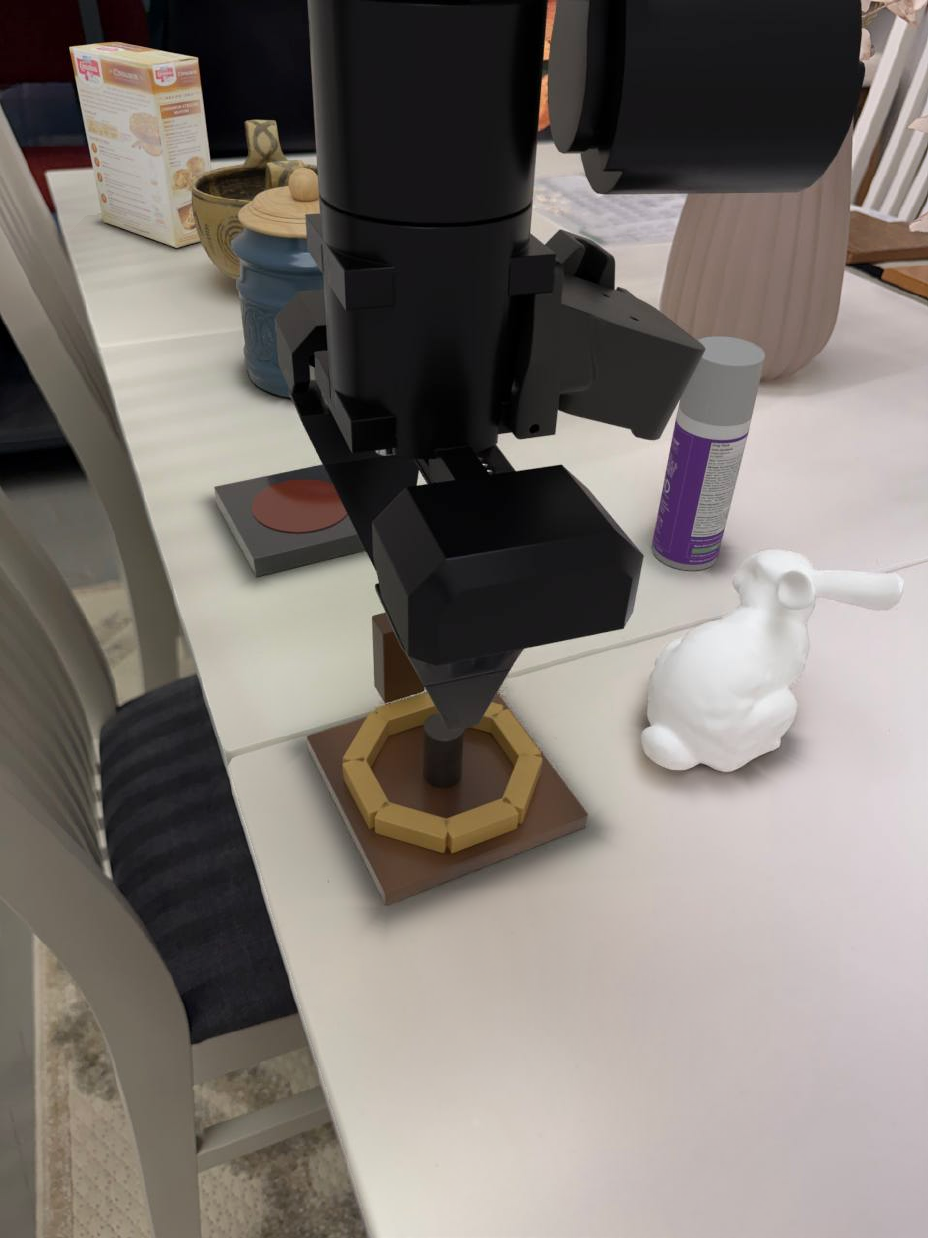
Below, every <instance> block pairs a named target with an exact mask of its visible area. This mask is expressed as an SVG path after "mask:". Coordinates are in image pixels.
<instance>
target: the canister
mask: <svg viewBox="0 0 928 1238" xmlns="http://www.w3.org/2000/svg"><path fill="white" fill-rule="evenodd" d="M317 213H320V209H319V191H318V176H317V174H316V173H315V172H314V171H312V170H310V169H307V168H300V169H297V170H295V171H294V172H293V173H292V174H291V176H290V178H289V186H284V187H278V188H273V189H269V190H266V191H263V192H261V193H259V194H258V195H256V197H255V198H254V199H253V201H251V202H250V203H248V204H247V205H245V206H244V207H242V208H241V209H240V211H239V213H238V219H239V221H240V222H241V224H242V225H244V229H243V230H241V231H240V232H239V233H238V234H237V235H236V236H235V237H234V238H233V240H232V242H231V248H232V251H233V252H234V254H235V255H236V256H237V257H238V258H239V260H240V275H239V276H238V278H237V280H236V281H235V288H236V290H237V292H238V298H239V306H240V314H241V322H242V324H241V325H242V333H243V339H244V340H243V341H244V345H243V350H242V351H243V356H244V363H245V366H246V368H247V370H248V375H249V378H250V379H251V381H252V382H253V384H255V385H256V386H257V387H259V388H260V389H261V390H263V391H266V392H267V393H270V394H273V395H275V396H280V397H283V398H288V399H291V397H290V394H289V387H288V384H287V382H286V380H285V378H284V375H283V373H282V371H281V369H280V366H279V362H278V351H277V340H276V329H275V317H276V316H277V315H278V313H279V312H280V311H281V310H282V309H283V308H284V306H285V305H286V304H287V303H288V302H289V301H290V299H291V298H292V297H293V296H294V295H295V293H296V292H298V291H310V290H322V289H324V278H323V274H322V272H321V270H320V269H319V267H318V266H317V264H316V263H315V261H314V259H313V258H312V256H311V255H310V253H309V252H308V249H307V234H306V219H305V214H317ZM309 367H310V365H309ZM310 380H311V379H310Z"/></svg>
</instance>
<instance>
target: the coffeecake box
mask: <svg viewBox="0 0 928 1238" xmlns="http://www.w3.org/2000/svg"><path fill="white" fill-rule="evenodd" d="M69 54H70V58H71V63H72V68H73V73H74V79H75V84H76V88H77V94H78V100H79V103H80V109H81V114H82V120H83V124H84V129H85V134H86V140H87V145H88V150H89V155H90V160H91V166H92V171H93V176H94V181H95V187H96V191H97V196H98V202H99V208H100V211H101V219H102V222H103V223H105V224H108V225H112V226H113V227H117V228H120V229H123V230H126V231H128V232H132V233H134V234H136V235H139V236H142V237H145V238H149V239H150V240H153V241H156V242H159V243H162V244H165V245H167V246H170V247H173V248H176V249H178V248H181V247H184V246H185V247H186V246H188V245H192V244H196V243H201V241H200V238H199V236H198V233H197V229H196V225H195V221H194V216H193V209H192V188H191V182H192V181H193V180H194V179H195V178H196V177H197V176H199V175H200V174H202V173H205V172H208V171H212V170H213V169H212V162H211V155H210V153H211V152H210V146H209V137H208V130H207V123H206V122H207V121H206V113H205V106H204V98H203V97H204V96H203V89H202V81H201V73H200V72H201V71H200V64H199V57H197V56H191V55H186V54H181V53H175V52H169V51H165V50H160V49H155V48H150V47H145V46H140V45H135V44H129V43H125V42H119V41H111V42H110V41H109V42H99V43H98V42H97V43H91V44H83V45H73V46H69Z"/></svg>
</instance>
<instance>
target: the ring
mask: <svg viewBox="0 0 928 1238" xmlns="http://www.w3.org/2000/svg"><path fill="white" fill-rule="evenodd" d="M371 630H372V659H373V660H372V661H373V686H374V688H375V689H376V692H377V693H378V695H379V696H380V698H381V700H382V701H383V703H384V704H383V705H379V706H377V707H375V708H374V712H373V711H369V713H368V714H367V716H366V717H367V718H366V720H365V721H364V723H363V725H362V726H361V728H360V730H359V731H358V733H357V735H356V736H355V738H354V740H353V742H352V743H351V745H350V747H349V748H348V750H347V752H346V753H345V755H344V757H343V764H342V767H343V779H344V781H345V783H346V785H347V787H348V789H349V791H350V793H351V795H352V797H353V799H354V800H355V802H356V804H357V806H358V808H359V810H360V812H361V814H362V816H363V818H364V820H365V822H366V824H367V826H368V828H369V829H371V828H374V827H375V833H377V834H380V835H383V836H387V837H390V838H393V839H397V840H400V841H403V842H407V843H410V844H413V845H417V846H420V847H423V848H427V849H430V850H433V851H437V852H440V853H444V852H445V850H446V848H447V847H448V848H449V850H450V852H451V853H455V852H457V851H460V850H463V849H465V848H468V847H470V846H473V845H476V844H478V843H481V842H483V841H486V840H489V839H491V838H494V837H496V836H499V835H502V834H504V833H507V832H510V831H512V830H515V829H517V824H518V823H519V824H522V823H523V820H524V817H525V814H526V812H527V809H528V806H529V803H530V801H531V798H532V795H533V793H534V790H535V787H536V784H537V782H538V779H539V776H540V773H541V766H542V758H541V752H542V751H541V752H540V750H541V749H540V748H539V747H538V748H539V749H540V750H539V749H538V748H537V746H538V745H537V744H536V743H535V744H536V745H537V746H536V745H535V744H534V742H535V741H534V740H533V739H532V740H533V741H534V742H533V741H532V740H531V738H532V737H531V736H530V735H529V736H530V737H531V738H530V737H529V736H528V734H529V733H528V732H527V731H526V732H527V733H528V734H527V733H526V732H525V730H526V729H525V728H524V726H523V725H522V724H521V722H520V721H519V720H518V718H517V717H516V716H515V717H516V718H517V719H516V718H515V717H514V715H515V714H514V713H513V712H512V713H513V714H514V715H513V714H512V713H511V711H512V710H511V709H510V708H509V709H510V710H511V711H510V710H509V709H506V710H503V705H500V704H497V703H493V702H491V704H490V706H489V708H488V709H487V711H486V713H485V714H484V716H483V718H482V719H481V721H480V723H479V724H477V725H476V726H473V727H470V728H473V729H477V730H481V731H485V732H488V733H491V734H492V735H493V737H494V738H495V739H496V741H497V742H498V744H499V745H500V747H501V748H502V749H503V751H504V752H505V754H506V755H507V756H508V758H509V759H510V761H511V762H512V764H513V765H514V766H515V767H514V769H513V772H512V774H511V777H510V779H509V782H508V784H507V787H506V789H505V792H504V794H503V797H502V798H501V799H499V800H496V801H493V802H490V803H488V804H485V805H482V806H480V807H477V808H474V809H471V810H469V811H466V812H463V813H461V814H458V815H455V816H452V817H450V818H447V819H446V818H443V817H439V816H436V815H432V814H429V813H425V812H422V811H418V810H415V809H412V808H408V807H405V806H401V805H398V804H394V803H391V802H389V801H388V799H387V797H386V795H385V794H384V792H383V790H382V788H381V786H380V784H379V783H378V781H377V779H376V777H375V775H374V774H373V772H372V770H371V766H372V764H373V763H374V761H375V759H376V757H377V755H378V754H379V752H380V750H381V748H382V747H383V745H384V743H385V741H386V739H387V738H388V736H390V735H393V734H396V733H399V732H402V731H405V730H408V729H411V728H415V727H418V726H421V725H424V723H425V721H426V719H427V718H428V717H429V716H431V715H433V714H435V713H438V711H437V709H436V707H435V705H434V703H433V702H432V700H431V698H430V696H429V694H428V692H427V691H426V689H425V687H424V685H423V684H422V682H421V680H420V678H419V676H418V675H417V673H416V671H415V669H414V667H413V666H412V664H411V662H410V660H409V658H408V657H407V655H406V653H405V652H404V651H403V649H402V648H401V646H400V644H399V642H398V640H397V638H396V636H395V633H394V631H393V629H392V627H391V624H390V622H389V620H388V617H387V615H386V613H385V612H382V613H379V614H374V615H372V616H371ZM425 691H426V692H425ZM517 720H518V721H519V722H520V723H519V722H518V721H517ZM520 724H521V725H522V726H523V727H522V726H521V725H520ZM523 728H524V729H525V730H524V729H523Z"/></svg>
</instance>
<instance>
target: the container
mask: <svg viewBox="0 0 928 1238" xmlns="http://www.w3.org/2000/svg"><path fill="white" fill-rule="evenodd" d="M697 340H698V341H699V342H700V343H701V344H702V345H703V346H704V347H705V349H706V350H705V352H704V354H703V356H702V358H701V360H700V362H699V364H698V365H697V367H696V369H695V371H694V373H693V375H692V377H691V379H690V381H689V383H688V385H687V387H686V389H685V391H684V393H683V394H682V396H681V398H680V400H679V402H678V407H677V411H676V417H675V421H674V426H673V431H672V435H671V443H670V447H669V452H668V459H667V463H666V468H665V469H666V470H665V472H664V473H665V474H664V479H663V485H662V490H661V495H660V501H659V506H658V510H657V516H656V522H655V526H654V532H653V536H652V537H653V538H652V542H651V543H652V544H651V551H652V553H653V556H654V557H655V558H656V559H657V560H658V561H660V562H661V563H662V564H664V565H666V566H668V567H671V568H673V569H676V570H681V571H691V572H692V571H702V570H705V569H708V568H710V567H712V566H714V565H715V564H716V563H717V560H718V557H719V554H720V550H721V546H722V542H723V537H724V534H725V530H726V525H727V521H728V517H729V513H730V509H731V506H732V501H733V497H734V495H735V490H736V485H737V481H738V477H739V473H740V469H741V465H742V462H743V461H742V460H743V457H744V453H745V449H746V445H747V441H748V437H749V432H750V428H751V424H752V420H753V414H754V410H755V404H756V400H757V396H758V392H759V391H758V390H759V386H760V381H761V378H762V372H763V368H764V364H765V359H766V353H765V351H764V350H763V349H762V348H761V347H760V346H758V345H757V344H755V343H753V342H750V341H748V340H745V339H741V338H738V337H732V336H723V335H722V336H721V335H720V336H719V335H718V336H717V335H716V336H706V337H702V338H699V339H697Z"/></svg>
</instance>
